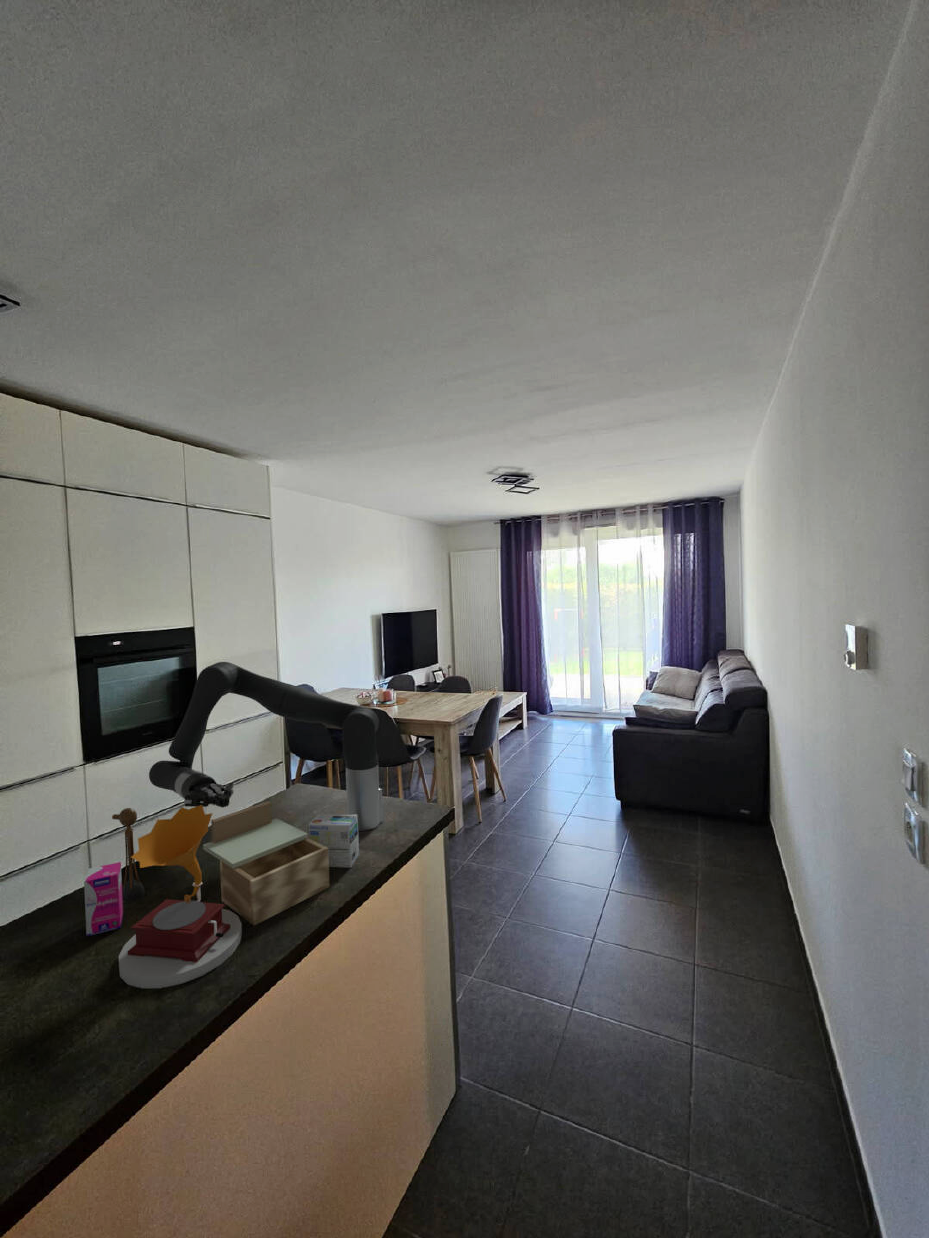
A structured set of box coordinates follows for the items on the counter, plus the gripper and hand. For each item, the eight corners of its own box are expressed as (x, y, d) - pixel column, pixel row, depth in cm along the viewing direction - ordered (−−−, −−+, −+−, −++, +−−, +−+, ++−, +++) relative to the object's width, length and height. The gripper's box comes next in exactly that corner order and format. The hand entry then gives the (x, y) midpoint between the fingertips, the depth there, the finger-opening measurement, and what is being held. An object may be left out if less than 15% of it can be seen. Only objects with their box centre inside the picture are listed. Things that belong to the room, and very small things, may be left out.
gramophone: (173, 912, 113) (167, 796, 112) (262, 920, 109) (257, 800, 108) (89, 982, 93) (81, 841, 91) (196, 995, 89) (189, 848, 88)
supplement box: (85, 938, 105) (82, 881, 104) (90, 922, 110) (87, 867, 109) (121, 929, 107) (117, 873, 107) (124, 913, 113) (121, 860, 112)
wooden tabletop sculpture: (110, 901, 117) (105, 811, 116) (126, 889, 122) (122, 803, 121) (133, 903, 116) (129, 813, 115) (149, 891, 121) (145, 804, 120)
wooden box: (295, 867, 130) (293, 831, 130) (329, 886, 121) (328, 847, 121) (221, 900, 117) (219, 860, 116) (254, 925, 108) (252, 881, 107)
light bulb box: (359, 854, 136) (358, 813, 135) (351, 868, 129) (350, 824, 129) (319, 853, 137) (317, 812, 136) (308, 867, 130) (307, 823, 130)
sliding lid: (276, 822, 135) (275, 798, 135) (307, 837, 126) (306, 812, 126) (203, 849, 121) (202, 823, 121) (233, 868, 112) (231, 840, 112)
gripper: (168, 779, 138) (197, 795, 127) (219, 766, 148) (250, 780, 137) (169, 808, 139) (198, 826, 128) (220, 793, 149) (251, 809, 138)
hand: (225, 802), depth 132 cm, fingers closed
